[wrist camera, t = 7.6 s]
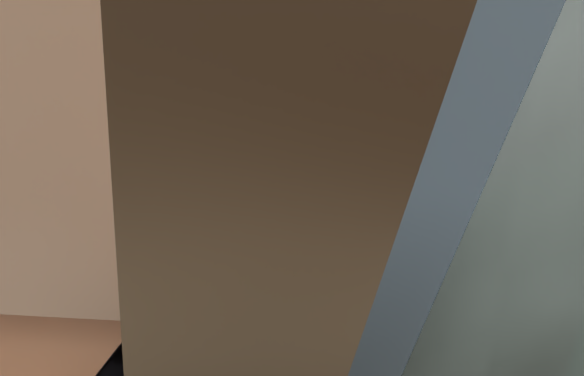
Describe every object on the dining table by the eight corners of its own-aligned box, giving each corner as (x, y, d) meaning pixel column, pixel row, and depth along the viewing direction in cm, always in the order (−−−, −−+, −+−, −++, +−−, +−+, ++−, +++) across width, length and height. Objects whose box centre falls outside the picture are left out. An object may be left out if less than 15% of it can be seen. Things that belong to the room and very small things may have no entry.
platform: (338, 401, 18) (351, 489, 16) (-15, 389, 16) (-63, 484, 14) (558, -245, 8) (691, -288, 6) (-281, -430, 7) (-609, -600, 4)
